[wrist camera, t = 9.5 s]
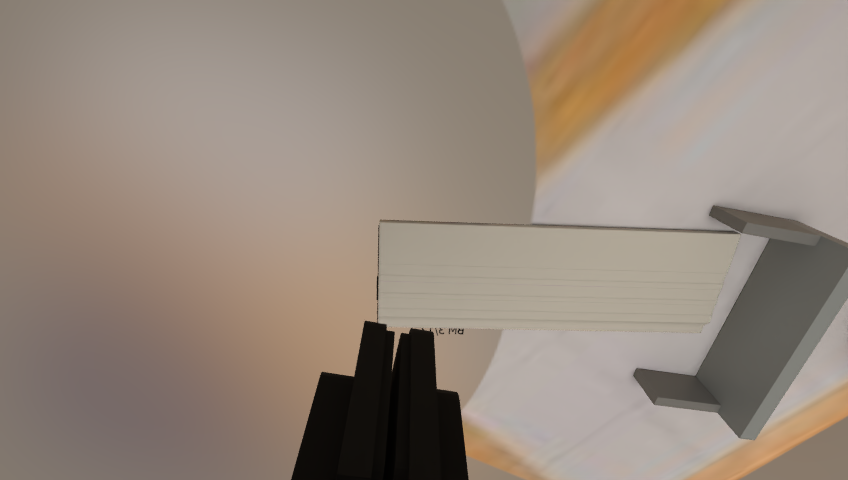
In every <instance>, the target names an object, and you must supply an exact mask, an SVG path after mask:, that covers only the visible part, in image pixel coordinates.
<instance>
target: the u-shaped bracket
mask: <svg viewBox="0 0 848 480" xmlns="http://www.w3.org/2000/svg"><path fill="white" fill-rule="evenodd" d="M709 216H711V217H713V218H715V219H717V220H719V221H720V222H722V223H724V224H726V225H728V226H730V227H731V228H733V229H735V230H737V231H739V232H741V233H744V234H749V235H755V236H761V237H766V238H771V239H770V240H769V242H768V244H767V246H766V248H765V250H764V251H763V253H762V255H761V257H760V259H759V261H758V262H757V264H756V266H755V268H754V270H753V272H752V274H751V275H750V277H749V279H748V281H747V283H746V285H745V286H744V288H743V290H742V292H741V294H740V296H739V298H738V299H737V301H736V303H735V305H734V307H733V309H732V310H731V312H730V314H729V316H728V318H727V320H726V321H725V323H724V325H723V327H722V329H721V331H720V333H719V334H718V336H717V338H716V340H715V342H714V344H713V345H712V347H711V349H710V351H709V353H708V355H707V357H706V358H705V360H704V362H703V364H702V366H701V368H700V369H699V371H698V373H697V375H696V376H689V375H682V374H674V373H667V372H659V371H652V370H645V369H636V371H635V373H634V375H633V376H634V377H635V378H636V380H637V381H638V383H639V384H640V386H641V387H642V388H643V390H644V391H645V393H646V394H647V396H648V397H649V398H650V400H651V401H652V403H653V404H654V405H660V406H668V407H676V408H684V409H692V410H700V411H708V412H716V413H718V414H719V415H720V416H721V418H722V419H723V420H724V421H725V422H726V423H727V424H728V426H729V427H730V428H731V429H732V430H733V431H734V433H735V434H736V435H737V436H738V437H739V438H741V439H749V440H755V439H756V437H757V436H758V434H759V433H760V431H761V430H762V428H763V427H764V425H765V424H766V422H767V421H768V419H769V418H770V416H771V414H772V413H773V411H774V410H775V408H776V407H777V405H778V404H779V402H780V401H781V399H782V398H783V396H784V395H785V393H786V392H787V390H788V388H789V387H790V385H791V384H792V382H793V381H794V379H795V378H796V376H797V375H798V373H799V372H800V370H801V369H802V367H803V365H804V364H805V362H806V361H807V359H808V358H809V356H810V355H811V353H812V352H813V350H814V349H815V347H816V346H817V344H818V343H819V341H820V339H821V338H822V336H823V335H824V333H825V332H826V330H827V329H828V327H829V326H830V324H831V323H832V321H833V320H834V318H835V316H836V315H837V313H838V312H839V310H840V309H841V307H842V306H843V304H844V303H845V301H846V300H847V298H848V243H846V242H844V241H842V240H839V239H837V238H835V237H832V236H830V235H828V234H826V233H823V232H821V231H819V230H816V229H814V228H812V227H810V226H807V225H805V224H803V223H800V222H798V221H794V220H789V219H784V218H778V217H773V216H767V215H762V214H757V213H751V212H746V211H740V210H735V209H730V208H724V207H719V206H713V208H712V210H711V213H710V215H709Z"/></svg>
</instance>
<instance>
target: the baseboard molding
mask: <svg viewBox="0 0 848 480" xmlns="http://www.w3.org/2000/svg"><path fill="white" fill-rule="evenodd" d="M378 229H379V228H378ZM740 236H741V234H740V233H738V232H723V231H694V230H665V229H635V228H606V227H576V226H547V225H517V224H487V223H458V222H429V221H399V220H380V230H379V236H378V237H379V239H378V240H379V241H378V242H379V243H378V245H379V246H378V253H379V254H378V256H379V257H378V258H379V259H378V264H379V265H378V271H379V295H378V276H377V300H378V303H377V304H378V308H377V309H378V311H377V314H378V318H377V319H378V322H377V323H382V324H387V327H416V328H422V330H424V329H423V328H430V331H431V328H435V329H436V328H440V330H439V333H440V334H444V333H441V332H440V331H442V330H443V329H441V328H449V334H450V328H451V330H452V328H454V329H453V330H452V332H454V330H455V334H456V330H457V328H458V329H459V330H458V334H463V332H464V328H469V329H470V328H471V329H523V330H576V331H629V332H682V333H701V331H702V328H703V326H704V325H705V324H707V323H709V322H710V320H711V317H712V312H713V309H714V306H715V305H716V303H717V298H718V295H719V292H720V290H721V289H722V286H723V281H724V279H725V276H726V274H727V273H728V270H729V267H730V264H731V261H732V259H733V256H734V253H735V250H736V248H737V245H738V242H739V239H740ZM455 328H456V329H455ZM460 328H463V329H462V330H460ZM459 331H462V333H459ZM436 333H437V330H436ZM437 335H438V333H437Z"/></svg>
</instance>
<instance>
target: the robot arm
mask: <svg viewBox="0 0 848 480" xmlns="http://www.w3.org/2000/svg"><path fill="white" fill-rule="evenodd" d="M386 328H387V324H382V323H375V322H370V321H365V323H364V328H363V333H362V338H361V343H360V349H359V355H358V360H357V366H356V370H355V376H354V377H352V376H346V375H339V374H332V373H326V372H322V373H321V375H320V378H319V382H318V385H317V389H316V393H315V396H314V400H313V403H312V407H311V410H310V414H309V418H308V421H307V425H306V428H305V432H304V436H303V439H302V443H301V446H300V450H299V453H298V457H297V461H296V464H295V468H294V471H293V475H292V479H291V480H468V471H467V462H466V453H465V444H464V435H463V426H462V418H461V409H460V400H459V395H458V393H457V392H453V391H446V390H440V389H437V387H436V367H435V348H434V333H433V332H431V331H425V330H419V329H412V328H411V329H410V332H409V334H405V333H401V335H400V339H399V344H398V348H397V352H396V357H395V361H394V365H393V370H392V361H393V348H394V335H395V332H393V331H387V330H386Z"/></svg>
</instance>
